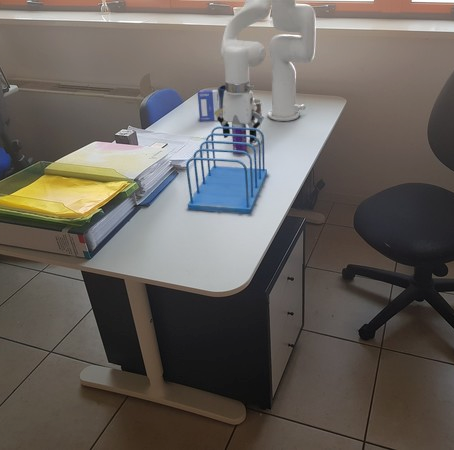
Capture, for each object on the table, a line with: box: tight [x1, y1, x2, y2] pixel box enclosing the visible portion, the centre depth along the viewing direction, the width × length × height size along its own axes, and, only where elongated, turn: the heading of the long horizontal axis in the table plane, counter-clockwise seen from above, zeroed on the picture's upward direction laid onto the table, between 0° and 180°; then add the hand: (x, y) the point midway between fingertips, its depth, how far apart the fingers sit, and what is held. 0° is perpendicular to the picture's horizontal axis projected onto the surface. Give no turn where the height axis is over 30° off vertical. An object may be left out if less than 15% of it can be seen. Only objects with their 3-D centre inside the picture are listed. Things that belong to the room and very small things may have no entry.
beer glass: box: [246, 98, 263, 147], centre depth 163 cm, size 7×7×15 cm
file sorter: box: [185, 126, 268, 215], centre depth 131 cm, size 25×17×15 cm
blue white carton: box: [197, 89, 219, 122], centre depth 185 cm, size 8×3×12 cm, turn 98°
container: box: [231, 115, 248, 157], centre depth 155 cm, size 5×5×15 cm
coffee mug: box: [217, 84, 226, 109], centre depth 199 cm, size 12×9×10 cm
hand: (239, 138), depth 156 cm, fingers open, 9 cm apart
